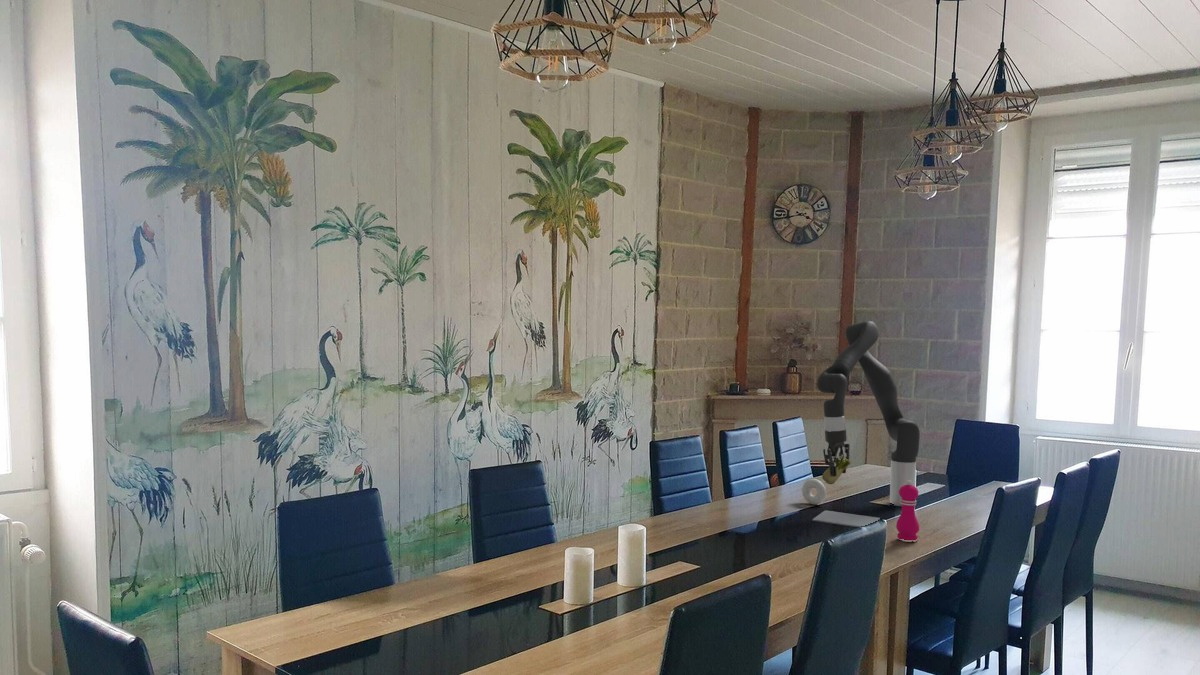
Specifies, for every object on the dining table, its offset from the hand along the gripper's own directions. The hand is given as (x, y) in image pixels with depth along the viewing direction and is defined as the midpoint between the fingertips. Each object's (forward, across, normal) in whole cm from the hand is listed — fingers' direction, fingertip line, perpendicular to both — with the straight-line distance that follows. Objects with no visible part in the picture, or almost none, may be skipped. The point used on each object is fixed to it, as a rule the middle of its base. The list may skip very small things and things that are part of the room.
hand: (838, 474), depth 305 cm
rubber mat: (+16, +1, +2) cm, 16 cm away
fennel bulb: (+3, 0, -5) cm, 6 cm away
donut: (+16, -11, -19) cm, 27 cm away
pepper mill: (+18, +8, +30) cm, 36 cm away
